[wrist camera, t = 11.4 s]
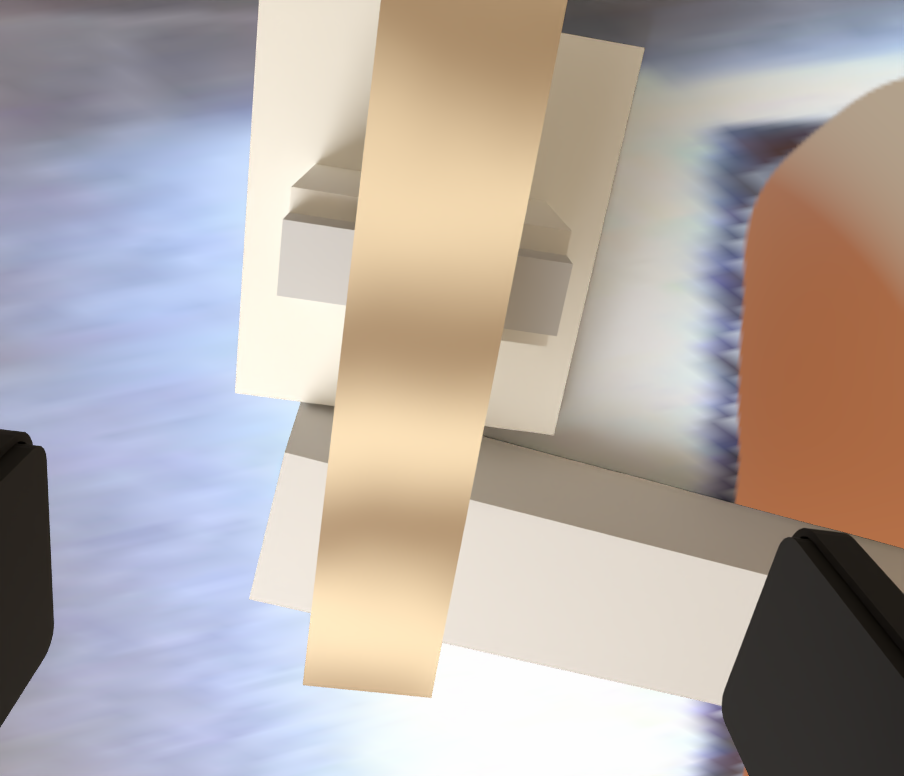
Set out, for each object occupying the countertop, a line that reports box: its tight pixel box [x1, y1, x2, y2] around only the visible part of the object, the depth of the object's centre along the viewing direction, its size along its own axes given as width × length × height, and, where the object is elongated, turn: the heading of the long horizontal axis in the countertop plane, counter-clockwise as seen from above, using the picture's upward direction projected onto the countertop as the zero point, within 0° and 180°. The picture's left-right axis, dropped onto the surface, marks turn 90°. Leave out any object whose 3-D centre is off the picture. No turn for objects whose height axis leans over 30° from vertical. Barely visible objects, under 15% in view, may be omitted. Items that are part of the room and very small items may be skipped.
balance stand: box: [235, 0, 645, 435], centre depth 28 cm, size 16×14×9 cm
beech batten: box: [303, 0, 568, 698], centre depth 22 cm, size 24×4×5 cm, turn 171°
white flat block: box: [249, 402, 904, 706], centre depth 39 cm, size 34×5×10 cm
